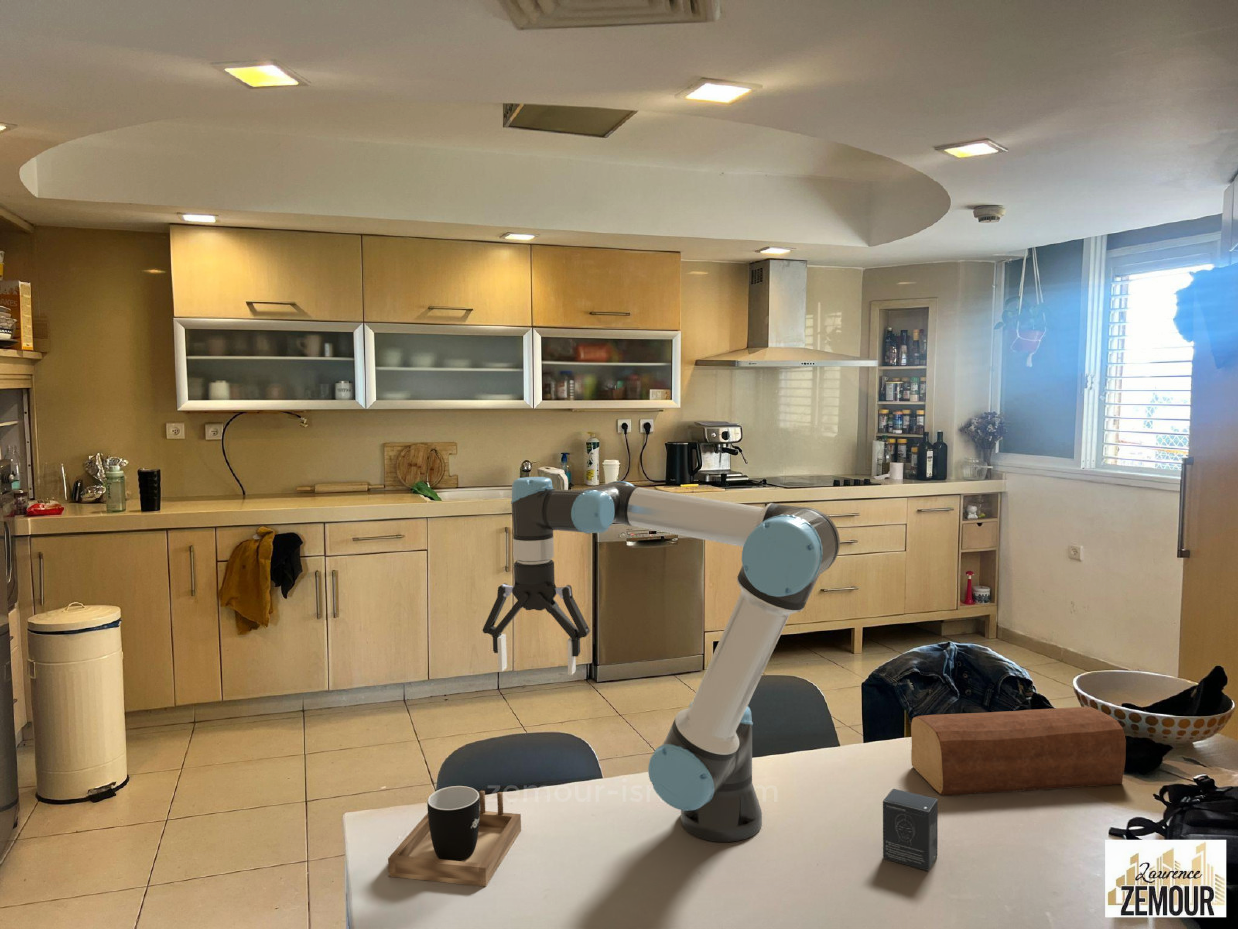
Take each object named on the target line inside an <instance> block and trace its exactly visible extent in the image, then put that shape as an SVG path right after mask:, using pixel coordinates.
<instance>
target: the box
mask: <svg viewBox="0 0 1238 929" xmlns="http://www.w3.org/2000/svg"><path fill="white" fill-rule="evenodd" d="M938 809H939V807H938V798H935V797H930V796H927V795H926V796H925V795H922V794H918V793H914V792H909V791H906V790H902V789H901V790H900V789H897V788H892V789H891V791H890V792H888V794H887V795H886V797H885V798H884V799H883V800H882V856H883V857H882V858H883V859H885V860H888V861H892V862H894V863H895V862H896V863H898V864H903V865H906V866H910V867H913V868H915V869H920V870H924V871H927V872H929V871H930V869H932V867H933V865H934V863H935V861H936V860H937V858H938V844H939V843H938V841H939V840H938V832H939V831H938V826H939V825H938V824H939V823H938V822H939V821H938V815H939V814H938V812H939V811H938Z"/></svg>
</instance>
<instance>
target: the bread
mask: <svg viewBox="0 0 1238 929" xmlns="http://www.w3.org/2000/svg"><path fill="white" fill-rule="evenodd" d="M910 732H911V733H910V734H911V753H910V755H911V756H910V759H911V762H910V763H911V766H912V767H913V768H914V769H915V771H916V772H917V773H918V774H919V775H920V776H921V777H923V778H924V780H925V781H926V782H928V784H929V785H930V786H931V787H932V788H933V789H934V790H935V791H936V792H938V793H939V794H940V795H941V796H956V795H957V796H958V795H969V794H970V795H974V794H985V793H986V794H987V793H1002V792H1003V793H1004V792H1007V793H1008V792H1018V791H1019V792H1020V791H1021V792H1022V791H1034V790H1035V791H1036V790H1037V791H1038V790H1052V789H1053V790H1054V789H1068V788H1080V787H1081V788H1083V787H1084V788H1085V787H1098V786H1099V787H1100V786H1112V785H1113V786H1114V785H1121V784H1123V781H1124V772H1125V768H1126V754H1127V753H1126V750H1127V749H1126V745H1127V740H1126V735H1125V732H1124V729H1123V727H1122V725H1121V724H1120V723H1119V721H1118V719H1117V720H1116V719H1115V718H1113V717H1112V716H1110V715H1108V714H1106V713H1105V712H1103V711H1101V710H1099V709H1097V708H1094V707H1092V706H1076V707H1075V706H1073V707H1058V708H1057V707H1056V708H1040V709H1038V708H1037V709H1024V710H1013V711H1012V710H1011V711H1010V710H1009V711H991V712H989V711H988V712H975V713H973V712H972V713H966V712H965V713H946V714H945V713H944V714H943V713H941V714H927V715H926V714H925V715H918V716H914V717H913V718H912V720H911V725H910Z"/></svg>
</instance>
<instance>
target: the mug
mask: <svg viewBox="0 0 1238 929" xmlns="http://www.w3.org/2000/svg"><path fill="white" fill-rule="evenodd" d="M426 803H427V804H426V805H427V808H426V809H427V813H428V819H429V827H430V834H431V839H432V844H433V848H434V851H435V853H436V855H437V857H438V858H439V859H442V860H452V861H462V860H465V859H467V858H469V857H470V856H471V855H472V854H473V852H474V850H475V847H476V844H477V838H478V830H479V815H480V797H479V791H478V790H476V789H475V788H473V787H469V786H465V785H464V786H463V785H456V786H448V787H444V788H443V787H442V788H440V789H438V790H436V791H434V792H433V793H431V794H430V795H429V797H428V798H427V801H426Z"/></svg>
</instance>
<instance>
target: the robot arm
mask: <svg viewBox="0 0 1238 929" xmlns="http://www.w3.org/2000/svg"><path fill="white" fill-rule="evenodd" d="M511 488H512V489H511V501H510V504H511V511H512V512H511V513H512V529H513V533H512V534H513V535H512V536H513V537H512V550H513V553H512V554H513V559H514V560H515V562H513V576H514V577H513V582H514V583H513V585H508V583H506V582H505V583H503V584H501V585H499V586H498V588H497V596H496V599H495V602H494V604H493V605H492V608H491V610H490V613H489V615H488V617H487V619H486V621H485V623H484V625H483V627H482V632H483V633H484V634H488V635H491V637H492V651H493V653H494V654H497V665H498V666H497V667H498V673H499V672H500V673H502V672H504V671H505V670H506V669H507V668H508V657H507V656H508V654H507V653H508V652H507V633H503V632H504V630H505V629H506V628H507V626H508V625H509V624H510V623H511V622H512V620H513V619H514V618H515V616H517V615H518V613H519V611H520V610H522V609H524V610H525V611H533V610H535V611H541V612H542V611H543V610H546V611H547V613H548V614H550V615H551V616H552V617H553V618H554V619H555V621H556V622H557V624H559V626H560V627H561V629H563V630H564V631H565V633H566V634H567V635H568V636H569V638H568V639H567V641H566V642H567V643H566V644H567V647H566V649H567V676H573V675H574V673H575V672H576V668H577V667H576V663H577V662H576V657H579V656H580V653H581V639H582V638H586V637H587V636H588V635H589V634H590V631H591V630H590V628H589V625H588V624H587V622H586V620H585V618H584V616H583V613H582V612H581V609H580V608H579V606H578V604H577V602H576V599H575V598H574V595H573V594H574V593H573V589H572V585H570V584H567V585H566V586H560V587H557V586H556V582H555V578H556V577H555V561H554V560H552V559H553V558H554V556H555V548H554V547H555V546H554V545H555V544H554V543H555V542H554V541H555V540H554V531H561V532H562V531H564V532H574V533H584V534H587V535H589V534H593V533H594V534H602V533H605V532H607V531H608V530H609V529H610V527H611V526H612V524H619V525H625V526H628V527H629V526H631V527H636V528H640V529H641V528H642V529H647V530H652V531H657V532H662V533H666V534H673V535H678V536H684V537H689V538H694V539H698V540H699V539H700V540H703V541H710V542H716V543H719V544H720V543H721V544H725V545H730V546H736V547H742V550H741V567H740V570H739V572H738V574H737V577H736V582H737V584H738V587H739V589H740V594H739V595H738V597H737V600H736V602H735V604H734V607H733V609H732V611H731V614H730V616H729V618H728V621H727V623H726V625H725V627H724V630H723V632H722V634H721V636H720V638H719V640H718V643H717V645H716V647H715V649H714V652H713V654H712V656H711V659H710V661H709V663H708V666H707V667H706V670H705V673H704V675H703V677H702V678H701V681H700V684H699V686H698V688H697V690H696V692H695V695H694V697H693V700H692V701H691V702H689V705H688V708H685V709H682V710H681V709H680V710H679V711H678V712H677V713H676V716H675V718H674V720H673V722H672V725H671V726H670V729H669V731H668V733H667V735H666V737H665V740H664V741H663V743H662V744H661V745H660V746H658V747H657V748H655V750H654V751H653V754H652V755H651V757H650V758H649V762H648V767H647V768H648V769H647V773H648V778H649V781H650V782H651V785H652V788H653V790H654V792H655V793H656V794H657V795H658V797H659V799H661V800H662V801H664V803H666V804H667V805H669V806H670V807H672V808H674V809H676V810H679V811H680V824H681V826H682V827H683V829H684V830H685V831H686V832H687V833H689V834H690V835H692V836H694V837H695V838H699V839H702V840H706V841H708V842H709V841H710V842H718V843H731V842H739V841H743V840H747V839H749V838H751V837H753V836H755V835H756V834H758V833H759V832H760V830H761V829H762V827H763V826H762V825H763V812H762V808H761V805H760V803H759V799H758V796H757V792H756V790H755V788H754V787H755V786H754V783H753V725H754V723H753V721H752V720H753V719H752V710H751V708H750V707H749V704H750V702H751V699H752V697H753V695H754V693H755V691H756V688H757V686H758V684H759V682H760V680H761V678H762V676H763V674H764V671H765V670H766V667H767V665H768V663H769V660H770V659H771V656H772V654H773V652H774V649H775V648H776V647H777V646H776V645H777V644H778V641H779V639H780V637H781V635H782V633H783V631H784V628H785V627H786V624H787V622H788V620H789V618H790V616H791V615H792V614H795V613H798V612H802V611H803V610H804V608H805V606H806V604H807V602H808V600H809V598H810V596H811V594H812V591H813V590H814V587H815V586H816V583H817V582H818V579H819V577H820V575H822V574H823V573H825V572H826V571H827V570H829V569H830V568H831V566H832V565H833V564H834V563H835V562H836V560H837V557H838V555H839V552H840V547H841V546H840V543H841V539H840V533H839V531H838V529H837V528H838V527H837V526H836V524H835V523H834V522H833V520H832V518H830V516H828V515H827V514H825V513H824V512H823V511H822V510H818V509H817V508H813V507H809V506H808V507H806V506H797V505H796V506H795V505H789V504H787V505H786V504H778V503H773V502H770V503H768V504H767V505H766V506H764V507H762V506H757V505H756V506H755V505H749V504H743V503H737V502H730V501H724V500H719V499H713V498H706V497H701V496H700V497H699V496H694V495H690V494H689V495H687V494H682V493H681V494H680V493H676V492H669V491H666V490H665V491H664V490H659V489H652V488H646V487H639V486H635V485H634V484H632V483H631V482H627V481H625V480H624V481H622V480H621V481H620V480H619V481H612V482H611V481H610V482H608V483H605V484H600V485H595V486H591V487H587V488H582V489H556V488H554V486H553V482H552V479H551V478H550V477H545V476H526V477H519V478H516V479H515V480H513V482H512V485H511ZM511 593H512V595H513V597H514V598H515V599H516V600H517V601H516V602H515V603H514V604H513V606H512V607H511V608H510V610H509V611H508V612H507V613H506V614H505V616H504V617H503V618H502V619H501V621H500V622H499V623H498V624H497V626H495V625H496V622H497V620H498V618H499V615H500V613H501V611H502V609H503V607H504V604H505V603H506V601H507V598H508V597H509V596H510V595H511ZM556 595H558V596H559V597H560V599H562V600H563V602H564V605H565V607H566V609H567V612H568V613H569V615H570V616H571V619H572V620H573V622H572V620H570V618H569V617H568V616H567V615H566V614H565V612H564V611H563V609H561V607H560V605H559V604H558V602H557V601H556V600H555V599H554V598H555V597H556Z"/></svg>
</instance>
